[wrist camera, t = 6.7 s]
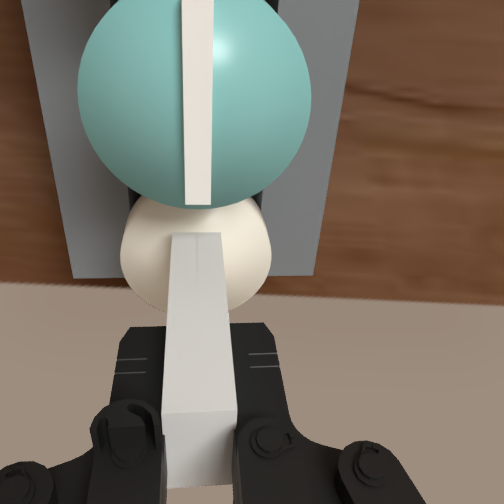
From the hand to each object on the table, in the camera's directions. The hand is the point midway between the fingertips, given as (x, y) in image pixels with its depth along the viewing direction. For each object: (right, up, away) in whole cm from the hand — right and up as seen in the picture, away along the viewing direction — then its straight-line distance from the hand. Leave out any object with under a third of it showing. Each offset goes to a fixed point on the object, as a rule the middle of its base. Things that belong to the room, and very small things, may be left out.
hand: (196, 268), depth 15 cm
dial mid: (0, +7, 0) cm, 7 cm away
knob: (-1, +4, +6) cm, 7 cm away
